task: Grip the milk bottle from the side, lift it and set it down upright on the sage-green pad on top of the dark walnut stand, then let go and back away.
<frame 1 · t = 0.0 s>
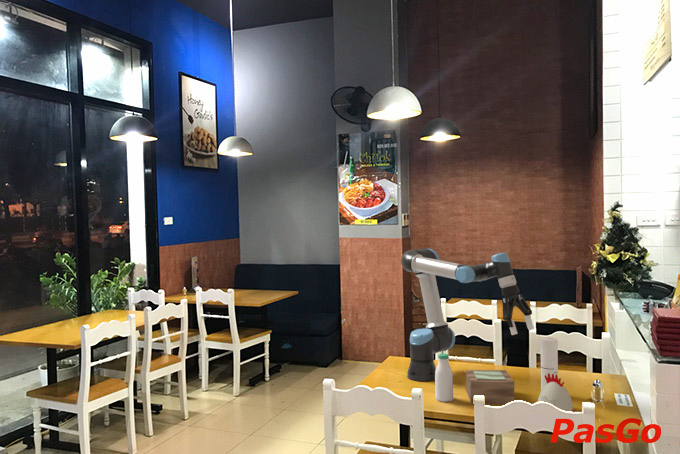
hand: (523, 332, 246), 28 cm above the table, tool tilted 20°, fingers open, 13 cm apart
milk bottle: (444, 399, 242), on the table
cylindrical container: (549, 395, 244), on the table
walnut stand: (489, 397, 242), on the table
kitchen timer: (555, 410, 225), on the table
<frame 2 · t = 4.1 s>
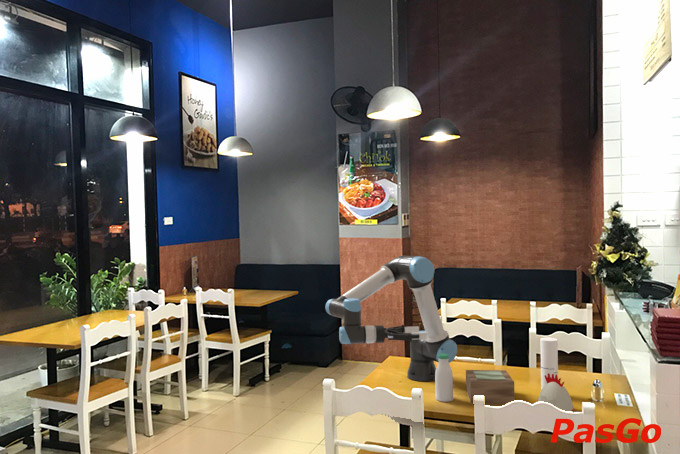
hand: (422, 332, 240), 30 cm above the table, tool horizontal, fingers open, 13 cm apart
nothing on the table moved.
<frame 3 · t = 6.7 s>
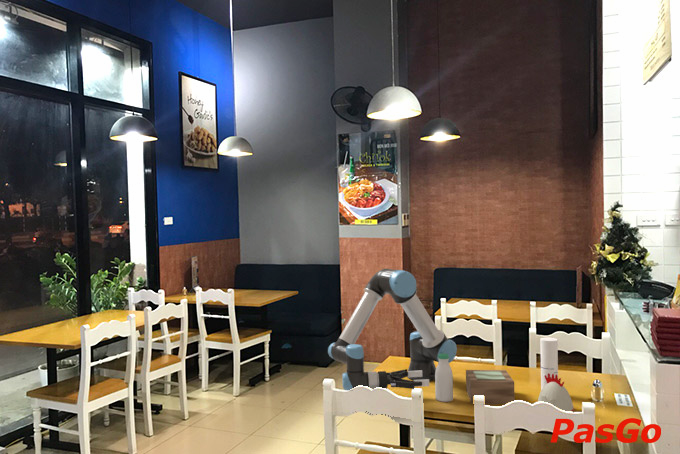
hand: (425, 378, 240), 10 cm above the table, tool horizontal, fingers open, 13 cm apart
nothing on the table moved.
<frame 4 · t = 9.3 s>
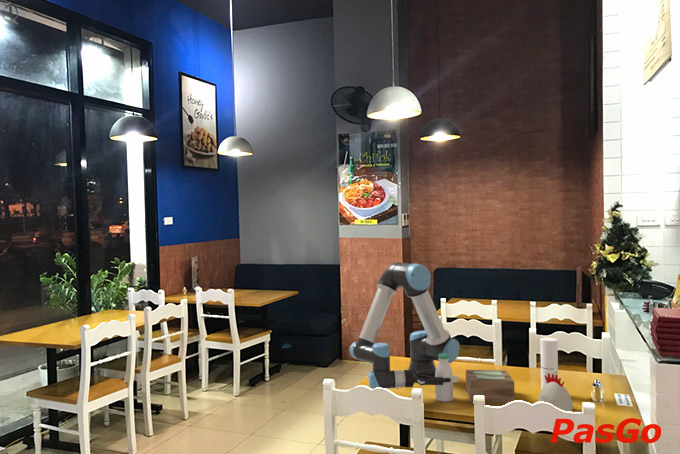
hand: (454, 376, 242), 10 cm above the table, tool horizontal, fingers closed on milk bottle, 7 cm apart
milk bottle: (444, 399, 242), on the table, touching gripper
everything else where it was.
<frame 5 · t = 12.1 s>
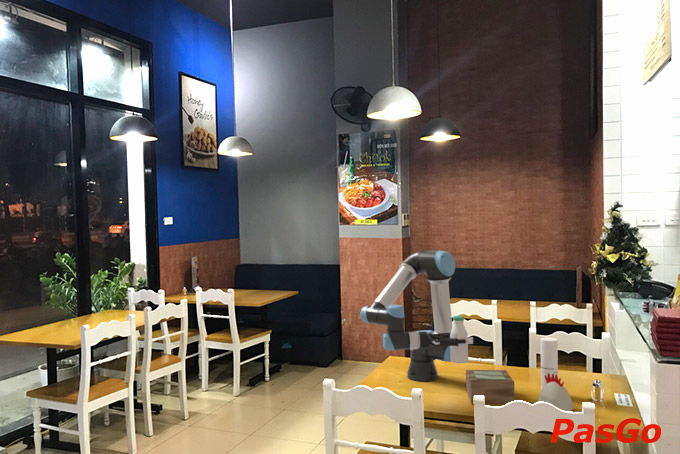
hand: (469, 338, 240), 27 cm above the table, tool horizontal, fingers closed on milk bottle, 7 cm apart
milk bottle: (459, 361, 240), point 17 cm above the table, touching gripper
everything else where it was.
when the fingers open (21 cm above the table, at t = 14.7 s): milk bottle drops 1 cm, resting on walnut stand.
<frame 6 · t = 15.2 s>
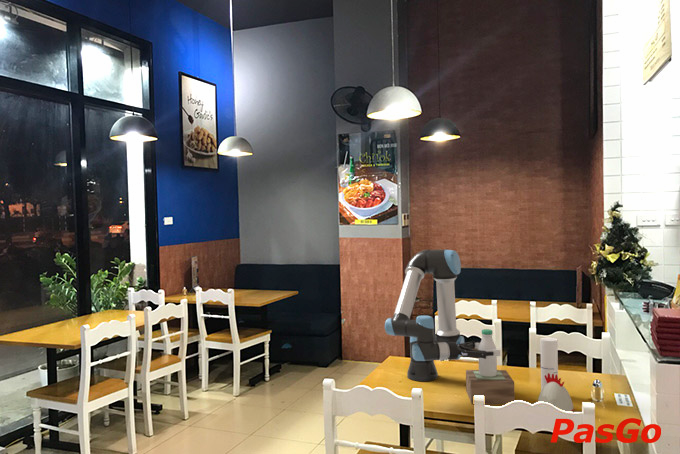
hand: (494, 348, 242), 21 cm above the table, tool horizontal, fingers open, 13 cm apart
milk bottle: (487, 375, 242), point 10 cm above the table, touching walnut stand
everything else where it was.
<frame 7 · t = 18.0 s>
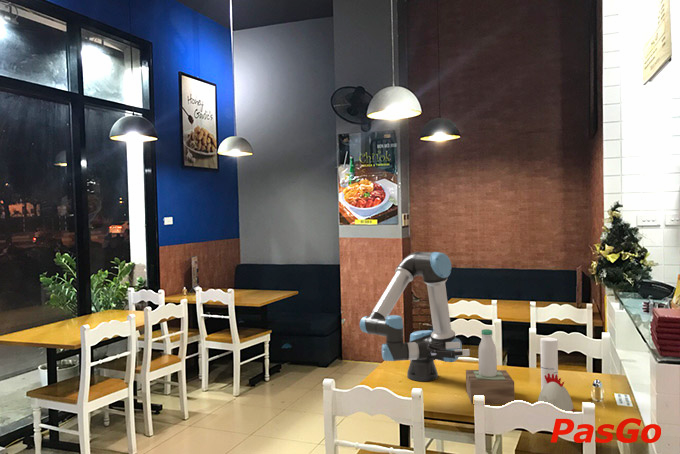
hand: (464, 348, 241), 22 cm above the table, tool horizontal, fingers open, 13 cm apart
nothing on the table moved.
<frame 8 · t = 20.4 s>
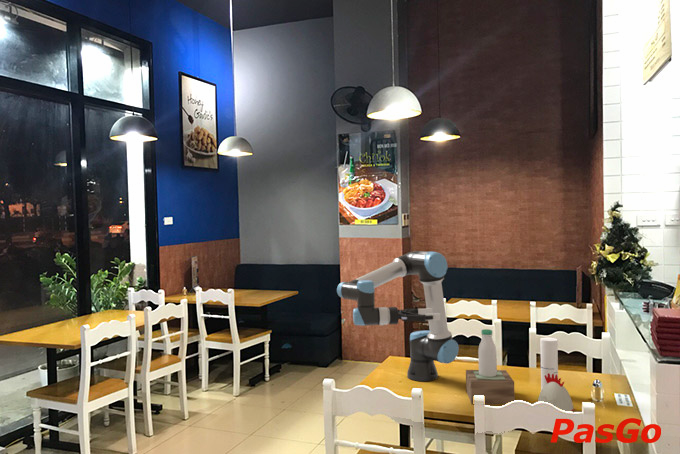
hand: (436, 313, 241), 38 cm above the table, tool horizontal, fingers open, 13 cm apart
nothing on the table moved.
at the end: milk bottle inside the target area on the walnut stand (0.5 cm from its centre), point 9.8 cm above the walnut stand's base; milk bottle tilted 0°; the gripper is holding nothing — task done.
